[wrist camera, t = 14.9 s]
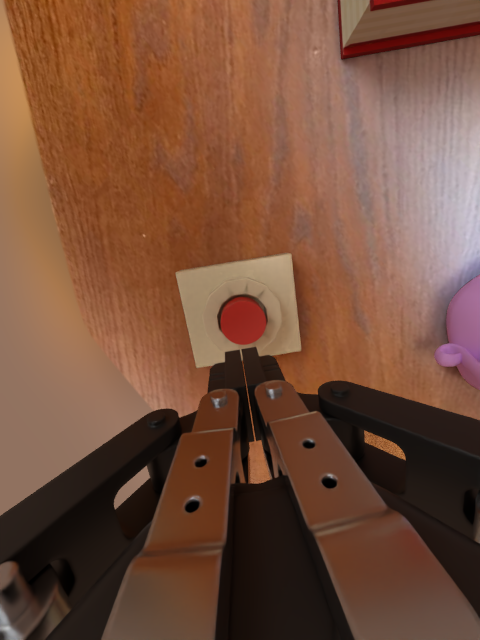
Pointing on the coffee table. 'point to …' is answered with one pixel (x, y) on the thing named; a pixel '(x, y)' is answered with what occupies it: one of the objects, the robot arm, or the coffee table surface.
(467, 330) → the teapot
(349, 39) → the book
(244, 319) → the button
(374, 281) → the coffee table surface
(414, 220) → the coffee table surface
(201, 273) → the block
